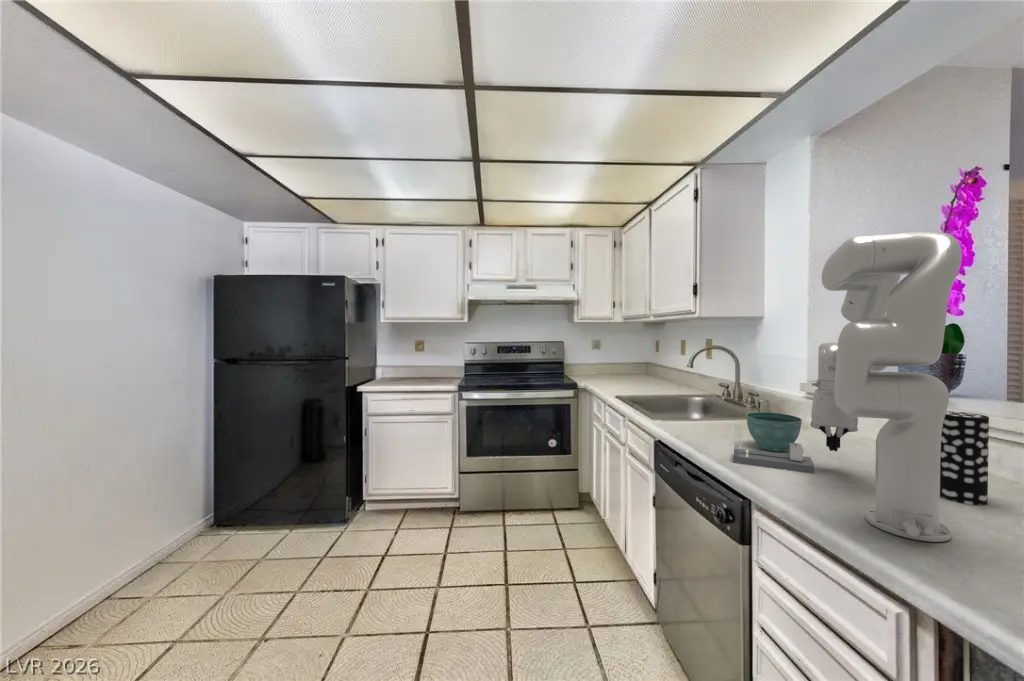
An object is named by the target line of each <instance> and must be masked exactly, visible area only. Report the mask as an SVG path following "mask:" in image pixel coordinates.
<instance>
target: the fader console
mask: <svg viewBox="0 0 1024 681" xmlns="http://www.w3.org/2000/svg"><path fill="white" fill-rule="evenodd" d="M734 462H738V463H737V464H740V463H742V464H741V465H747V464H749V465H748V466H755V465H756V466H755V467H762V466H764V468H770V467H772V468H771V469H777V468H779V470H784V469H786V470H785V471H792V470H793V471H794V472H800V473H809V474H815V465H814V462H813V460H812V458H811V456H804V455H803V462H802V461H794V460H790V457H789V453H787V454H786V453H781V452H779V453H778V452H773V451H771V452H770V451H762V450H755V449H746V448H739V442H734V447H733V463H734Z"/></svg>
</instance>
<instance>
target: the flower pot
mask: <svg viewBox="0 0 1024 681" xmlns="http://www.w3.org/2000/svg"><path fill="white" fill-rule="evenodd" d="M745 418H746V425H747V429H748V432H749V434H750V436H751V437H752V439H753V440H754V441H755V442H756V447H758V448H759V449H762V450H765V449H766V451H770V450H771V452H779V451H781V452H782V451H784V452H789V443H796V441H797V439H798V438H799V435H800V433H801V427H802V426H801V425H802V424H803V423H802V422H803V419H802V418H800V417H798V416H795V415H792V414H786V413H780V412H779V413H778V412H769V411H762V412H761V411H757V412H754V411H753V412H748V413H746V414H745ZM781 452H780V453H781Z"/></svg>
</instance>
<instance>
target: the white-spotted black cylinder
mask: <svg viewBox="0 0 1024 681" xmlns="http://www.w3.org/2000/svg"><path fill="white" fill-rule="evenodd" d="M989 428H990V417H989V416H988V415H984V414H979V413H972V412H965V411H964V412H963V411H951V410H950V411H949V410H948V411H946V414H945V418H944V422H943V427H942V435H941V457H940V498H943V499H946V500H948V501H952V502H956V503H960V504H964V505H971V506H972V505H973V506H985V505H986V506H987V505H988V504H987V503H988V502H989V499H988V496H989V495H988V494H989V492H988V491H989V442H990V439H989V437H990V436H989V434H990V429H989Z"/></svg>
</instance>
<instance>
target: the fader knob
mask: <svg viewBox="0 0 1024 681" xmlns="http://www.w3.org/2000/svg"><path fill="white" fill-rule="evenodd" d="M788 454H789V457H790V460H794V461H802V462H803V456H804V447H803V445H802V443H798V442H794V443H789V451H788Z"/></svg>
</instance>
